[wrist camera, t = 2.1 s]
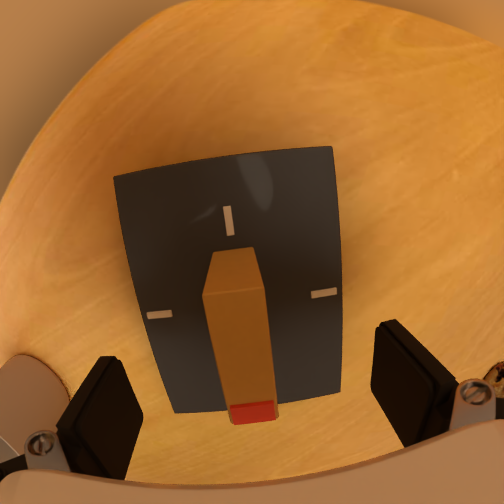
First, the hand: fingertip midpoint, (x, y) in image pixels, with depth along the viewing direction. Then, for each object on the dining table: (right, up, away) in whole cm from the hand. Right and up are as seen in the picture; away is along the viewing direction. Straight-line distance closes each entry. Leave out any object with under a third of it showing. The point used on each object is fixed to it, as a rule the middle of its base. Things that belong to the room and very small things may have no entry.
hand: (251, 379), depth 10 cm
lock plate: (-1, +2, +9) cm, 9 cm away
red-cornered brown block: (-1, +2, +6) cm, 6 cm away
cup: (-19, -9, +11) cm, 23 cm away
